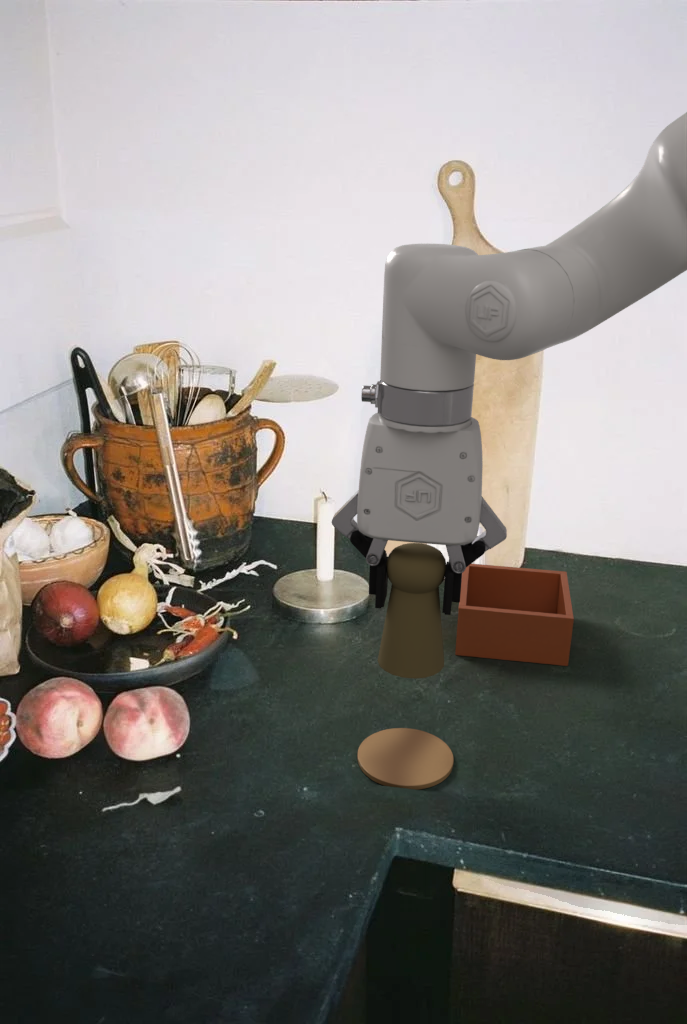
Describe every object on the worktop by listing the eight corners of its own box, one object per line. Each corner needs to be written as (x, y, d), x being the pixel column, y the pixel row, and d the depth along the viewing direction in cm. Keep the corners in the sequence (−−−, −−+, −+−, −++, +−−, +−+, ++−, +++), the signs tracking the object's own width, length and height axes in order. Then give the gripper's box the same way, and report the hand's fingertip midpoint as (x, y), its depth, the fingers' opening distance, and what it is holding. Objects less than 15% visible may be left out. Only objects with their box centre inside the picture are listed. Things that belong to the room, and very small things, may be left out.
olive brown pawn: (456, 657, 85) (465, 546, 81) (423, 686, 80) (430, 569, 76) (399, 638, 88) (405, 530, 84) (364, 664, 83) (368, 551, 80)
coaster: (455, 737, 92) (455, 733, 91) (450, 795, 83) (451, 791, 83) (364, 727, 93) (364, 723, 93) (350, 783, 84) (350, 779, 84)
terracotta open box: (561, 615, 116) (566, 571, 114) (568, 666, 105) (574, 618, 103) (459, 606, 118) (463, 562, 116) (455, 655, 107) (458, 608, 104)
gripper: (313, 408, 73) (310, 615, 80) (534, 422, 71) (513, 634, 78) (329, 386, 80) (325, 578, 87) (531, 398, 78) (512, 595, 84)
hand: (414, 602), depth 82 cm, fingers closed on olive brown pawn, 5 cm apart
